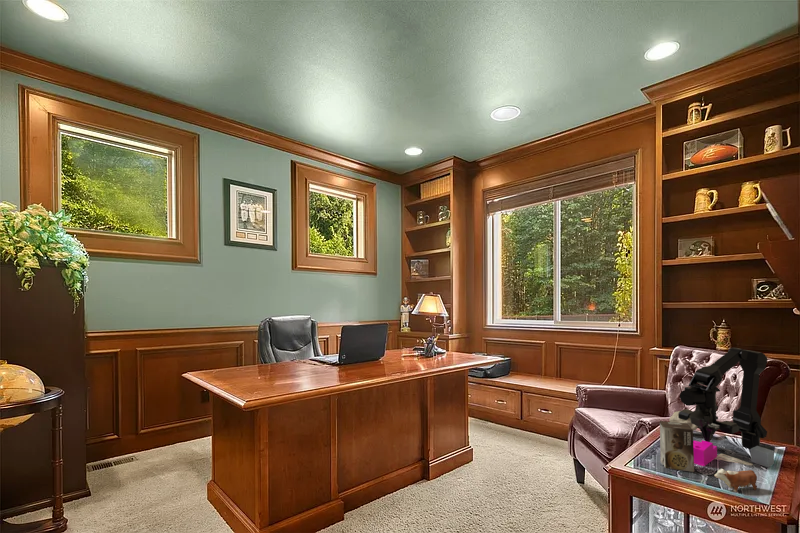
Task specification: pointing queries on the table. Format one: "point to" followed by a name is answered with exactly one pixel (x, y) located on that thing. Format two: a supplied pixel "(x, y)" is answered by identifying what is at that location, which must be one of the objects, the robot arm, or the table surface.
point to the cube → (762, 456)
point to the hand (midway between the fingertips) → (707, 442)
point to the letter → (731, 459)
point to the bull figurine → (737, 478)
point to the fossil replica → (681, 420)
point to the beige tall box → (676, 446)
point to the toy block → (704, 452)
